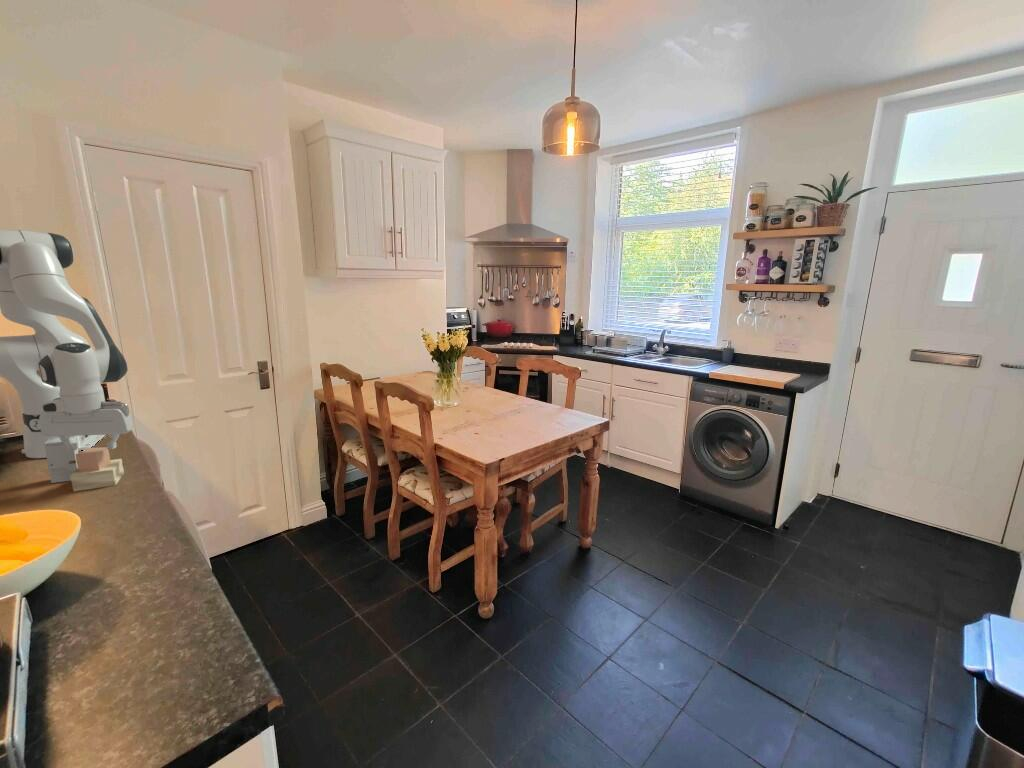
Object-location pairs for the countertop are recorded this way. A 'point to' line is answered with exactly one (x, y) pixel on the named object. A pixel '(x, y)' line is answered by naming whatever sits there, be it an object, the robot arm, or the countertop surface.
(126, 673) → the countertop surface
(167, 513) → the countertop surface
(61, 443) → the skincare box
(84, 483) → the birch block
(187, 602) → the countertop surface
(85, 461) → the terracotta cube
